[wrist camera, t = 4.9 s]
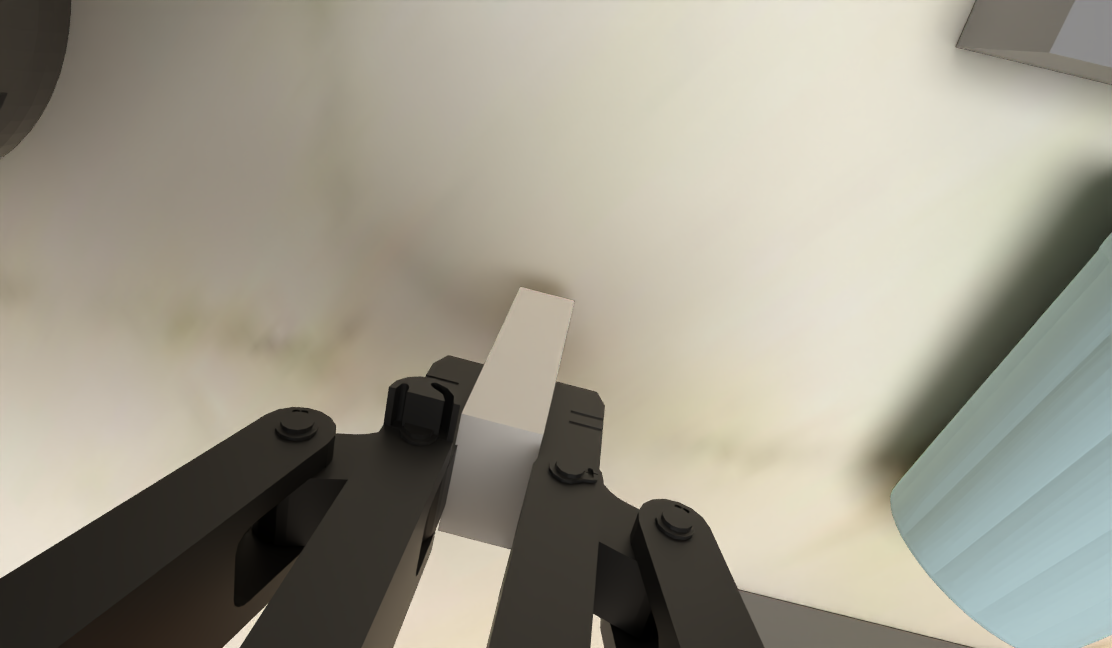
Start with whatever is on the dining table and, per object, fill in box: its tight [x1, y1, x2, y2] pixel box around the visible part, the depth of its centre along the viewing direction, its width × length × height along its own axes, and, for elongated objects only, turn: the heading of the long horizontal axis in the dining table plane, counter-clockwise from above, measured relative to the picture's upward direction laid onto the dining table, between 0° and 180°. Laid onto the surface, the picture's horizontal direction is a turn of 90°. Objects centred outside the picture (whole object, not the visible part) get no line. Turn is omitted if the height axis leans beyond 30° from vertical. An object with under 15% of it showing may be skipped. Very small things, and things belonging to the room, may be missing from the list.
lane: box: [739, 0, 1112, 648], centre depth 18 cm, size 12×21×4 cm, turn 168°
